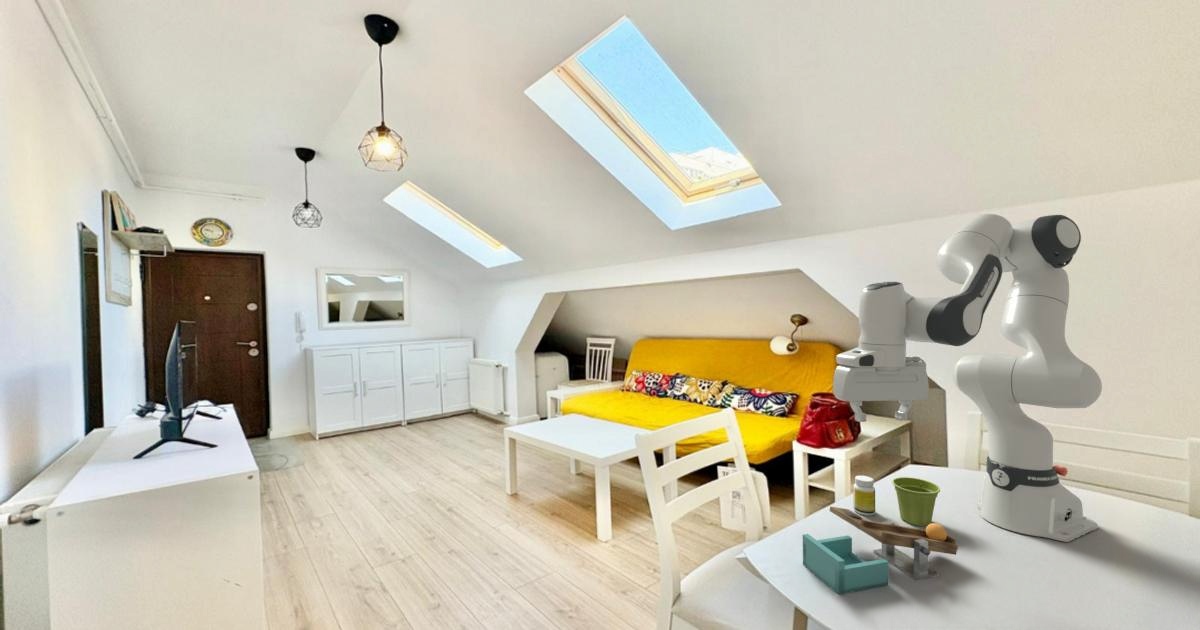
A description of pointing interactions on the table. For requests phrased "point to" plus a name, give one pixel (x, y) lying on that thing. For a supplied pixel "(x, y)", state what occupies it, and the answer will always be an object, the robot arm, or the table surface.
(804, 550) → the teal tray
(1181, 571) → the table surface
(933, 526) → the ball
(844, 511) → the lever
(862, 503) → the supplement bottle
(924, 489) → the plant pot
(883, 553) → the fulcrum
